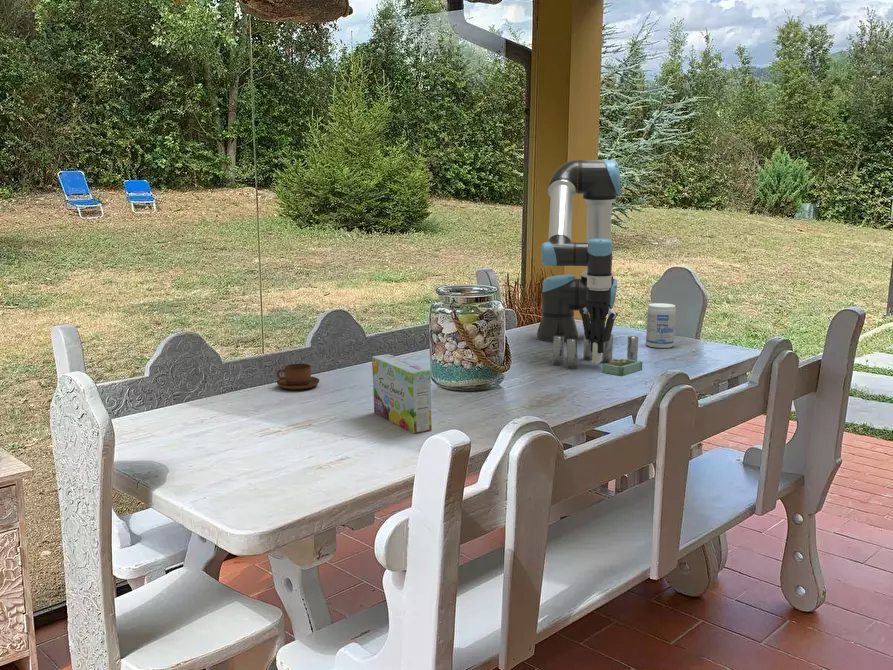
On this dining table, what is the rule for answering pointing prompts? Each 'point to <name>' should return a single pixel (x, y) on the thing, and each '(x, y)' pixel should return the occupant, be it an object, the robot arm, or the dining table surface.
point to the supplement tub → (660, 325)
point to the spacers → (589, 350)
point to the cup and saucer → (297, 377)
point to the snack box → (402, 393)
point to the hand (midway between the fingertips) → (596, 362)
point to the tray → (623, 368)
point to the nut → (618, 362)
